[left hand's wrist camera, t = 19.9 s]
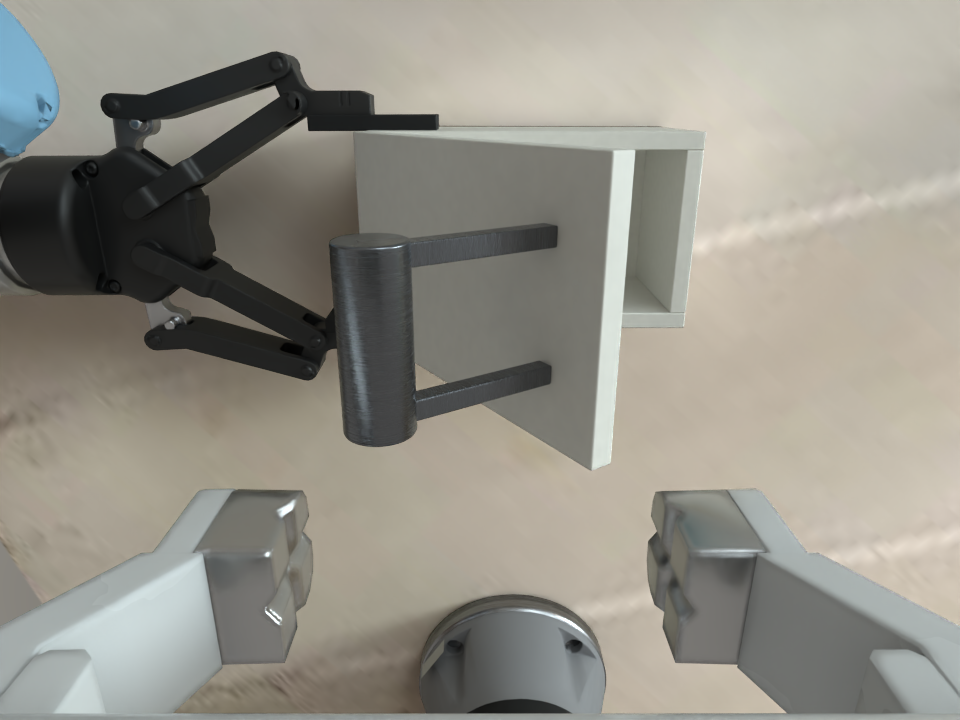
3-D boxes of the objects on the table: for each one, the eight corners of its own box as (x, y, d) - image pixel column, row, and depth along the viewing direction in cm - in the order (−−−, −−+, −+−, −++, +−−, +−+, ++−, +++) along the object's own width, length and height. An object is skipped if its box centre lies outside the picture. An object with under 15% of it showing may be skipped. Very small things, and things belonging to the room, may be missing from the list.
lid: (636, 149, 19) (368, 160, 15) (611, 464, 23) (389, 548, 18) (370, 131, 33) (190, 134, 28) (380, 329, 36) (222, 359, 32)
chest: (658, 126, 42) (706, 131, 33) (644, 286, 45) (684, 328, 36) (386, 125, 41) (362, 130, 33) (393, 285, 45) (374, 328, 36)
